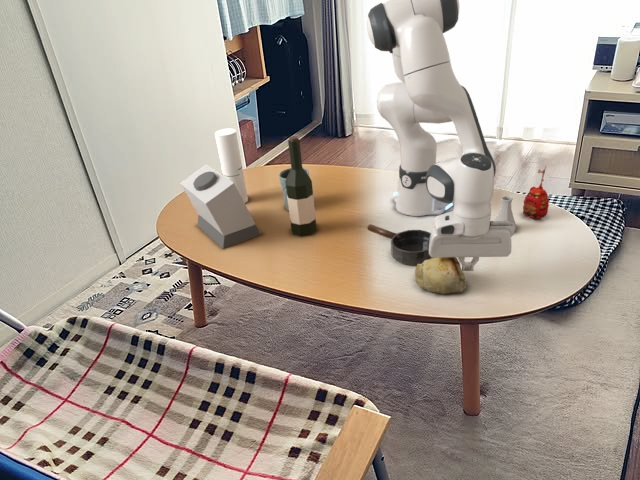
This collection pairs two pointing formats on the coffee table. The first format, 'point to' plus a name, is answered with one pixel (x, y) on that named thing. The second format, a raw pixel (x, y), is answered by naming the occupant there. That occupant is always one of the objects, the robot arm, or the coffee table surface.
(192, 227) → the coffee table surface
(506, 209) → the flask
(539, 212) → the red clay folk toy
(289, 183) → the wine bottle
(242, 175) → the cylindrical container
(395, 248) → the pan
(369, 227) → the pan handle
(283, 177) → the drinking glass
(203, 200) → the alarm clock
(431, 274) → the pastry
